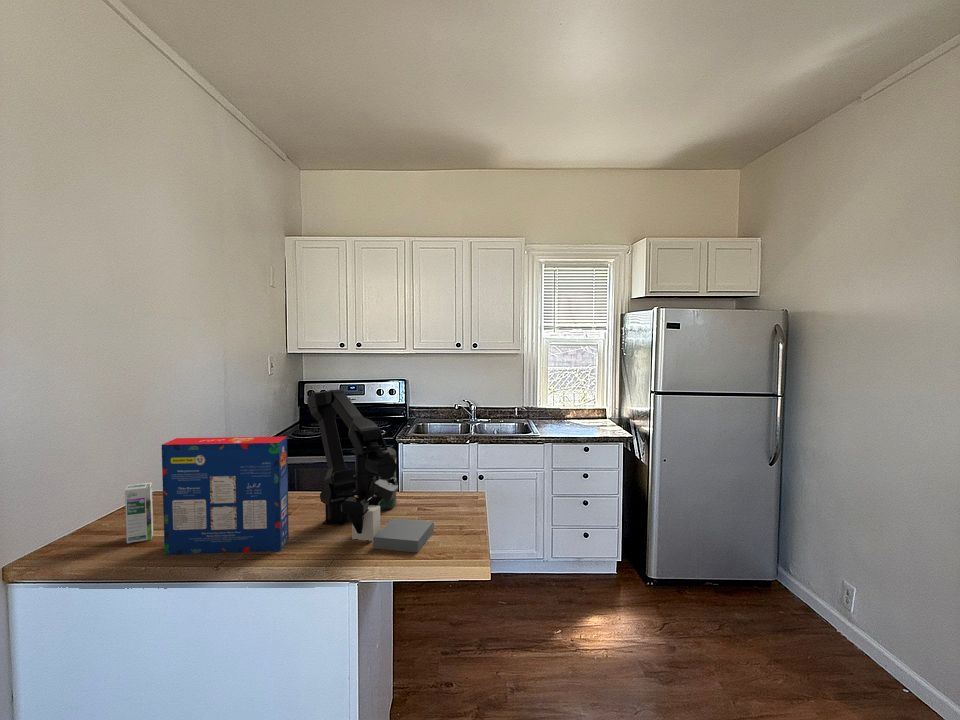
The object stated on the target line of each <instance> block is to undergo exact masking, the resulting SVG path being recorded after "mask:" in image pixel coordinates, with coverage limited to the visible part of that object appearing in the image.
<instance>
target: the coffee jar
mask: <svg viewBox="0 0 960 720" xmlns="http://www.w3.org/2000/svg"><path fill="white" fill-rule="evenodd" d="M386 451H387V452H389V453H390V457H392V458H393V459H394V460H395V463H396V464H397V451H396V450H395V449H394V448H393V447H388V446H387V450H385V452H386ZM392 477H393V478H395V479H397V470H396V471H395V473H394V474H393V476H391V477H390V478H388V479H383V478H381V480H384V481H385V480H387V481H389V480H390V479H391V478H392ZM396 503H397V493H396V494H395V497H394V498H393V499H392V500H391V501H389V502H388V501H385V500H384V499H383V500H381V502H380V504H379V506H380V511H384V510H387V509H392V508H394V506H395V505H396Z"/></svg>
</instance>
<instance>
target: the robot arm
mask: <svg viewBox="0 0 960 720" xmlns="http://www.w3.org/2000/svg"><path fill="white" fill-rule="evenodd" d="M306 402H307V406H308V408H309V412H310V415H311V416H312V417H313V418H314V419H315V420H316V421H317V423H318V425H319V427H318V428H319V431H320V435H321V441H322V446H323V450H324V456H325V461H326V466H327V471H326V475H325V477H324V486H323V489H322V490H321V491H320V494H319V499H320V502H321V503H323V504H325V510H324V511H325V520H324V521H322V525H335V526H344V525H345V524H347V522H349V521H350V522H351V525H352V524H353V526H354V527H355V529H356V531H357V533H358V534H361V533H362V529H363V522H364V515H365V514H366V513H367V512H368V511H369V509H368V506H369V505H376V506H379V504H380V502H381V500H383V499H384V500H385V501H388V502H389V501H391V500H392V499H393V498H394V497H395V494H396V495H397V492H398V490H400V489H399V485H398V479H397V478H396V479H395V478H393V477H392V478H391V479H390V480H389V481H387V480H385V481H384V480H381V478H383V479H388V478H390V477H391V476H393V474H394V473H395V471H396V472H397V462H396V463H395V460H394V459H393V458H392V457H390V453H389V452H387V451H386V452H385V450H387V447H388V446H387V442H386V440H385V438H384V436H383V434H382V431H381V429H380V427H379V426H378V425H377V424H376V423H375V422H374V421H373V420H371V419H369V418H365V417H364V416H363V414H361V413H360V411H359V409H357V407H356V406H355V404H353V402H352V400H351V399H350V398H349V397H348V396H347V392H346V390H345V389H341V388H339V389H330V390H327V391H316V392H311V393H310V395H309V396H308V397H307V400H306ZM337 415H338V416H339V418H340V419H341V420H342V422H343V423H344V425H345V426H346V427H347V429H348V434H347V435H348V438H349V440H350V442H351V444H352V446H353V448H352V449H351V453H353V454H354V456H355V457H354V459H355V460H354V461H355V462H354V463H355V464H354V466H355V467H354V469H355V470H353V469H352V468H348V466H347V465H346V464H345V459H344V455H343V450H342V445H341V444H342V443H341V441H340V435H339V431H338V426H337V425H338V424H337V422H336V420H337V419H336V416H337ZM354 471H355V472H354Z"/></svg>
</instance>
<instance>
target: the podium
mask: <svg viewBox="0 0 960 720" xmlns="http://www.w3.org/2000/svg"><path fill="white" fill-rule="evenodd" d="M434 525H435V523H434V521H432V520H421V519H418V520H417V519H408V518H407V519H406V518H392V519H390V520H389V521H388V522H387V524H386V525H384V526H383V527H382V528H380V531H379V532H378V533H377V534H376V535H375V536H374V537H373V541H372V542H373V549H374V548H375V550H377V549H378V550H385V549H387V551H398V552H408V553H416V554H417V553H420V550H421V549H422V548H423V547H424V546H425V544H426V543H427V541H428V540H429V539H430V537H431V536H432V535H433V534H434V533H435V531H434Z"/></svg>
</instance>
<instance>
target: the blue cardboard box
mask: <svg viewBox="0 0 960 720" xmlns="http://www.w3.org/2000/svg"><path fill="white" fill-rule="evenodd" d="M288 461H289V460H288V436H287V435H285V436H237V437H236V436H230V437H229V436H228V437H227V436H223V437H221V436H220V437H176V438H173V439H172V440H169V441H166V442H165V443H162V444H161V469H162V470H161V473H162V475H161V477H162V511H163V539H164V540H163V545H164V556H181V555H182V556H183V555H184V556H185V555H186V556H187V555H209V554H211V555H213V554H235V553H262V552H266V553H267V552H281V551H282V550H283V548H284V547H285V545H286V544H287V542H288V540H289V539H290V537H289V536H290V535H289V534H290V533H289V532H290V531H289V530H290V529H289V527H290V526H289V477H288V476H289V472H288V467H289V466H288Z"/></svg>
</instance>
